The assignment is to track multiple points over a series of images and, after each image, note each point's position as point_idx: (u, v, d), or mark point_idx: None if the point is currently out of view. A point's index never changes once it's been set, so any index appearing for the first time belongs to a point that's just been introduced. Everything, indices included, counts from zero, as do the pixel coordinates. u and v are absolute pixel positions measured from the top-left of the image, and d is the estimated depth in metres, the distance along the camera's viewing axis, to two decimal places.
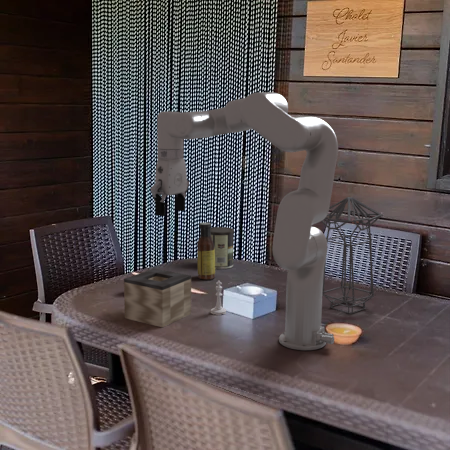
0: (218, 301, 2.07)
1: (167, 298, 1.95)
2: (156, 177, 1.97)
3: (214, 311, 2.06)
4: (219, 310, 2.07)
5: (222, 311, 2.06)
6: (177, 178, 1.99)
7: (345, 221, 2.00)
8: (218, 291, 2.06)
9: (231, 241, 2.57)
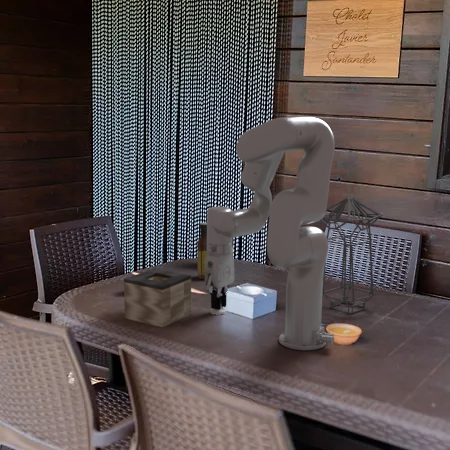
0: None
1: (167, 298, 1.95)
2: (206, 271, 2.02)
3: (214, 311, 2.06)
4: (219, 310, 2.07)
5: (222, 311, 2.06)
6: (226, 271, 2.04)
7: (345, 221, 2.00)
8: None
9: None
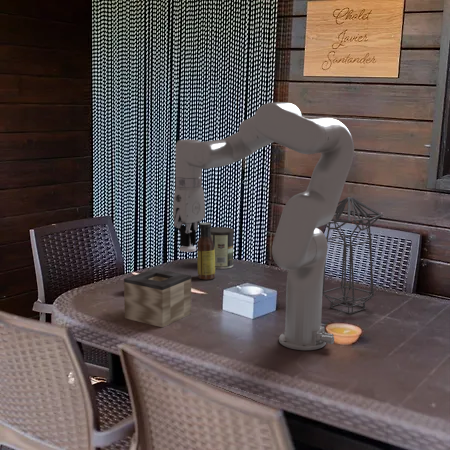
0: None
1: (167, 298, 1.95)
2: (174, 205, 1.96)
3: (183, 248, 2.01)
4: (188, 247, 2.01)
5: (191, 248, 2.01)
6: (195, 207, 1.98)
7: (345, 221, 2.00)
8: None
9: (231, 241, 2.57)
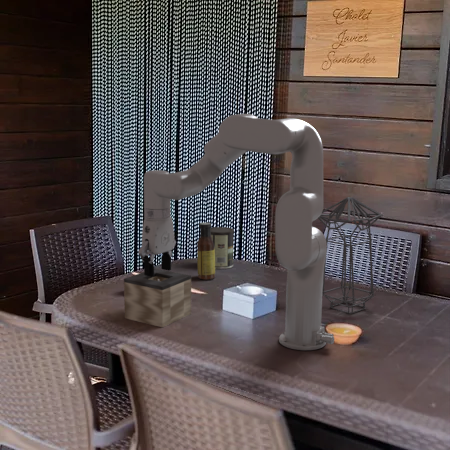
0: None
1: (167, 298, 1.95)
2: (143, 237, 1.96)
3: None
4: None
5: None
6: (164, 237, 1.98)
7: (345, 221, 2.00)
8: None
9: (231, 241, 2.57)
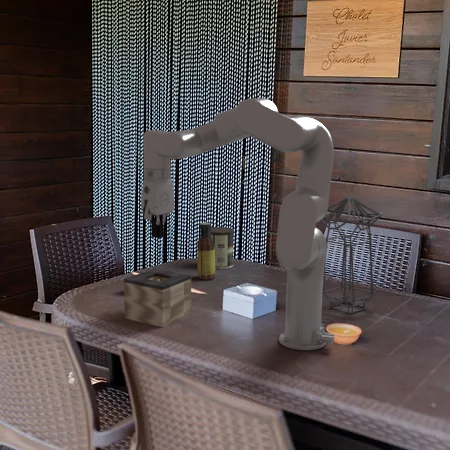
0: None
1: (167, 298, 1.95)
2: (142, 197, 1.94)
3: None
4: None
5: None
6: (164, 198, 1.95)
7: (345, 221, 2.00)
8: None
9: (231, 241, 2.57)
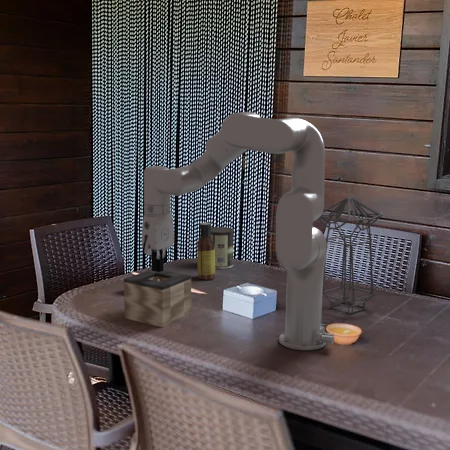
0: None
1: (167, 298, 1.95)
2: (143, 232, 1.96)
3: None
4: None
5: None
6: (164, 233, 1.97)
7: (345, 221, 2.00)
8: None
9: (231, 241, 2.57)
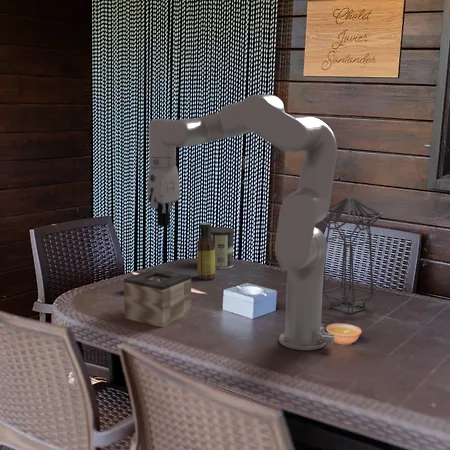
0: None
1: (167, 298, 1.95)
2: (148, 186, 1.94)
3: None
4: None
5: None
6: (170, 187, 1.96)
7: (345, 221, 2.00)
8: None
9: (231, 241, 2.57)
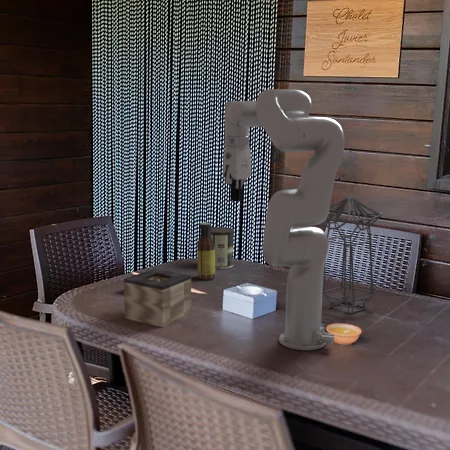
0: None
1: (167, 298, 1.95)
2: (224, 163, 2.09)
3: None
4: None
5: None
6: (243, 164, 2.11)
7: (345, 221, 2.00)
8: None
9: (231, 241, 2.57)
